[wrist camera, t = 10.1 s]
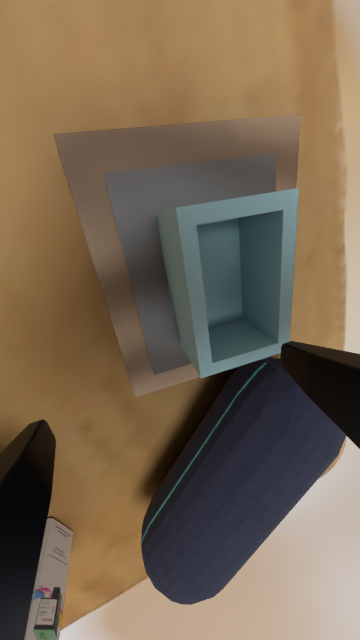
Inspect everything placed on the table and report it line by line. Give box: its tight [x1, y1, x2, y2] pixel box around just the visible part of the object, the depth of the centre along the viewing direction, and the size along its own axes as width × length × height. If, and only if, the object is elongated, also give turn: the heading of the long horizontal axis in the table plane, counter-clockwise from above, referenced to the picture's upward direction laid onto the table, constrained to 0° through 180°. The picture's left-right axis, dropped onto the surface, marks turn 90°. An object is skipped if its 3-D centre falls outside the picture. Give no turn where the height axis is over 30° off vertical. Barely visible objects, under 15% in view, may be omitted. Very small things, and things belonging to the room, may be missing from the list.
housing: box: [156, 188, 299, 378], centre depth 14 cm, size 6×10×5 cm, turn 9°
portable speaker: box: [141, 357, 346, 604], centre depth 22 cm, size 25×10×10 cm, turn 150°
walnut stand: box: [53, 114, 301, 398], centre depth 17 cm, size 18×15×3 cm
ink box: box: [24, 518, 73, 640], centre depth 20 cm, size 8×5×12 cm, turn 111°
